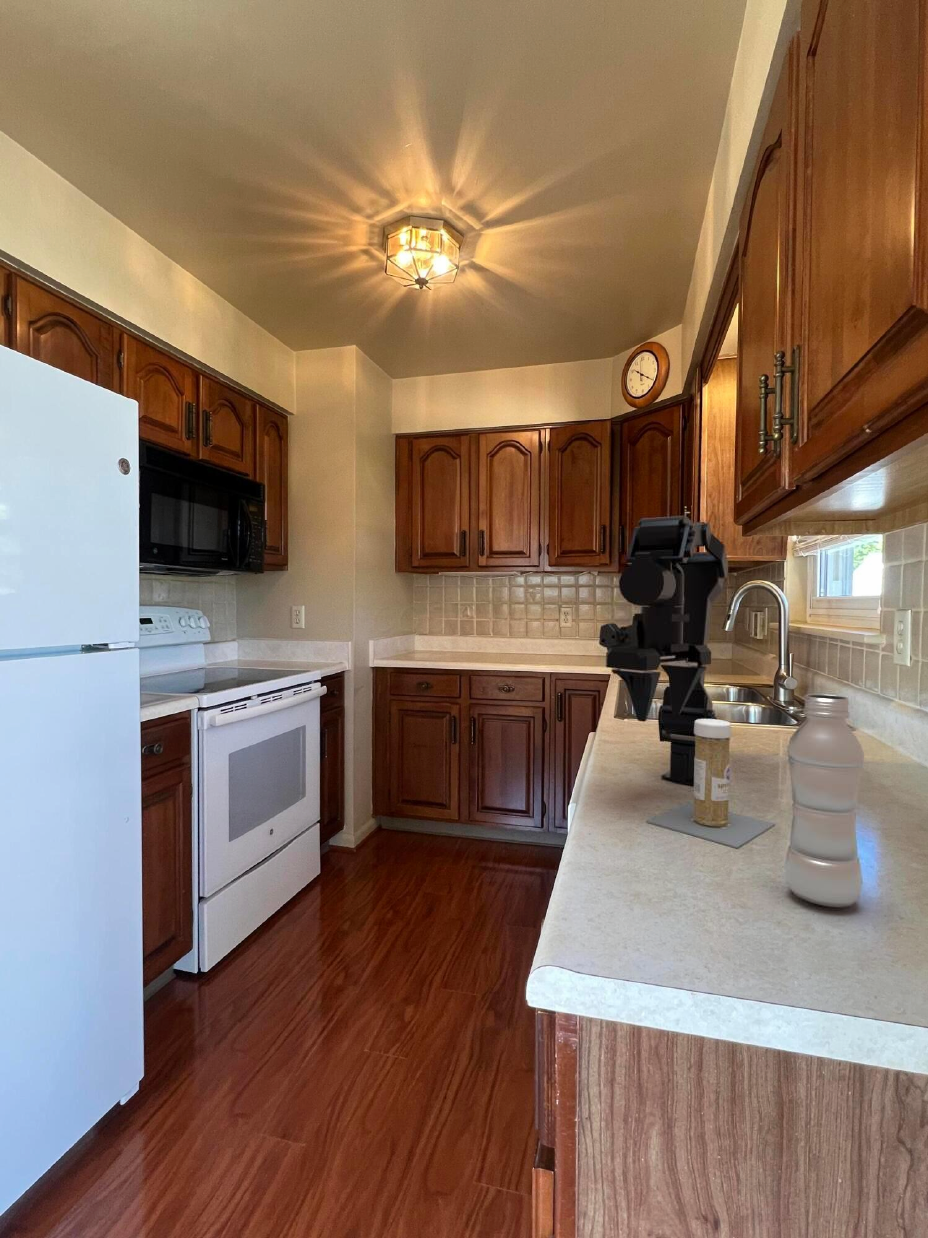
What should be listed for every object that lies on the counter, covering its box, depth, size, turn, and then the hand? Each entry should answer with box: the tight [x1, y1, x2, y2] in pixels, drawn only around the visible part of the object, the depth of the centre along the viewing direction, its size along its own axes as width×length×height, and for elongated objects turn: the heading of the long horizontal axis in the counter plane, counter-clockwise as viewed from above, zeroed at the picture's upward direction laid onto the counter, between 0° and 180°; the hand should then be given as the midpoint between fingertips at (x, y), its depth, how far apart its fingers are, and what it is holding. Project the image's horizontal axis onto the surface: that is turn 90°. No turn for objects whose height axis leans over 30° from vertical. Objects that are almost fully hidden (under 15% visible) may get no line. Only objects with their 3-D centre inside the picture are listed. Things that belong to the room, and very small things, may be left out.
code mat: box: [645, 801, 776, 850], centre depth 82 cm, size 12×12×1 cm
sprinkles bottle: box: [693, 718, 732, 827], centre depth 82 cm, size 5×5×13 cm
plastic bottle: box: [784, 693, 865, 908], centre depth 60 cm, size 6×7×20 cm
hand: (659, 717), depth 87 cm, fingers open, 9 cm apart
